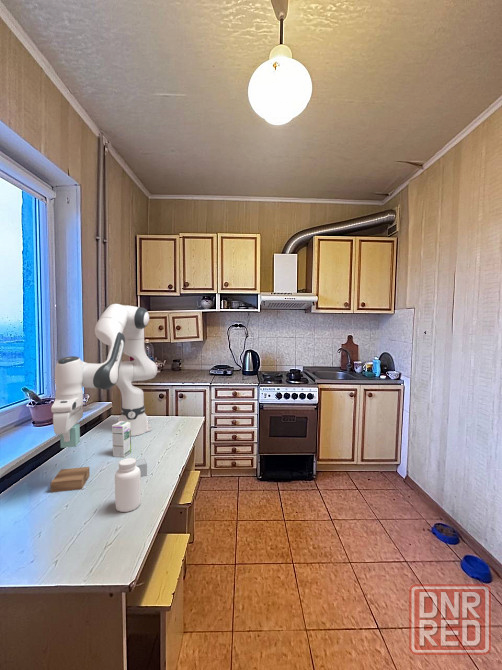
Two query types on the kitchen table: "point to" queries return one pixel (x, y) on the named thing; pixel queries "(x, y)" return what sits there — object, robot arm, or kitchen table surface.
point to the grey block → (142, 467)
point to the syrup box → (121, 438)
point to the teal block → (74, 437)
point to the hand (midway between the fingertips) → (70, 437)
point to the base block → (70, 479)
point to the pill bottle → (127, 485)
